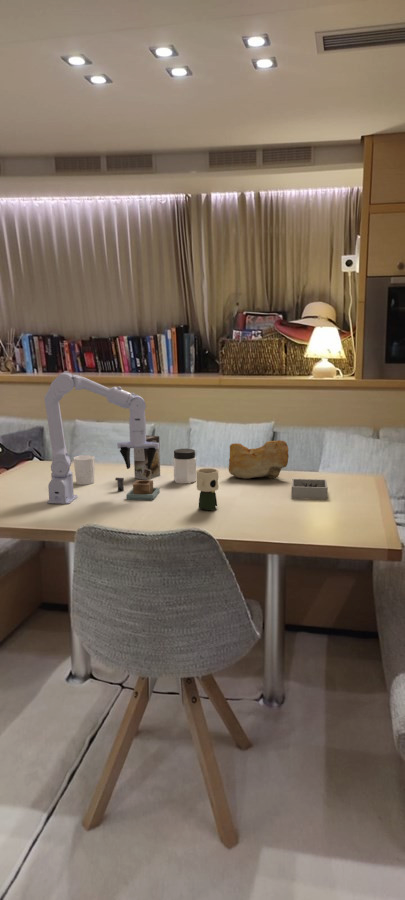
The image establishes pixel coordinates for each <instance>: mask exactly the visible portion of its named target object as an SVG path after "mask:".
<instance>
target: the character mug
mask: <svg viewBox="0 0 405 900" xmlns="http://www.w3.org/2000/svg"><path fill="white" fill-rule="evenodd" d="M196 490H198V491H199V497H198V509H201V510H204V511H213V510H216V509H217V507H218V500H217V495H216V494H217V493H216V491H218V490H219V469H217V468H213V467H211V468H210V467H205V468H198V469H196Z"/></svg>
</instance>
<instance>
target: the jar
mask: <svg viewBox="0 0 405 900" xmlns="http://www.w3.org/2000/svg"><path fill="white" fill-rule="evenodd" d="M196 459H197V457H196V450H195V449H192V448H178V449H175V450H174V451H173V480H174V482H175V483H176V484H183V483H189V484H192V483H196V482H197V473H196V472H197V460H196ZM195 481H196V482H195ZM191 482H192V483H191Z"/></svg>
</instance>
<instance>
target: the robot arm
mask: <svg viewBox="0 0 405 900" xmlns="http://www.w3.org/2000/svg"><path fill="white" fill-rule="evenodd" d="M73 389H74V391H81V390H86V391H89V392H92V393H94V394H97V395H99V396H102V397H105V398H106V399H107V402H108V403H109V404H112V405H115V406H117V407H119V408H122V409H125V410H126V409H129V418H128V422H129V423H128V424H129V441H118V442H117V449H120V450H119V453H120V455H121V456H122V458H123V460H124V462H125V466H126V469H127V470H128V469H131V449H134V448H145V449H148V450H147V457H148V469H151V466H152V461H153V457H154V455H155V452H156V450H157V449H159V448H160V442H159V443H154V442H146V435H147V423H146V422H147V421H146V420H147V419H146V411H145V410H146V408H147V404H146V402H145V399H144V398H143V397H142V396H140V395H139V394H136V393H135V392H129V391H127V390H124V389H123V388H122V387H121V386H119V385H118V386H112V387H107V386H105V385H103V384H101V383H98V382H96V381H94V380H91V379H89V378H87V377H84V376H82V375H78V374H73V373H71V372H68V371H64V372H62V373H60V374H58V375H57V377H55V379H54V380H52V381H51V384H50V385H49V387H48V390H47V391H46V394H45V396H44V400H43V401H44V405H45V411H46V412H45V413H46V419H47V425H48V431H49V432H48V433H49V438H50V446H51V458H52V462H51V464H50V471H51V475H50V479H51V480H50V481H49V483H48V487H47V488H48V489H47V490H48V498H49V499H48V500H47V501H46V504H63V505H64V504H65V505H67V504H70V503H72V502H73V501H74V500H75V499H76V498H78V496H79V495H78V494H74V480H73V479H74V478H73V476H74V475H73V472H72V470H71V466H72V459H71V457H70V456H69V453H68V450H67V446H66V440H65V434H64V433H65V432H64V427H63V426H64V425H63V420H62V414H61V413H62V411H61V406H60V401H61V400H62V399H63V397H64V396H65V395H66V394H68V393H70V392H72V391H73Z"/></svg>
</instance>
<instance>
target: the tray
mask: <svg viewBox="0 0 405 900" xmlns="http://www.w3.org/2000/svg"><path fill="white" fill-rule="evenodd" d="M160 493H161V491H160V487H153V493H152V494H133V487H132V488H131V489H130V490H129V491H128V492H127V493H126V500H133V501H136V500H137V501H139V500H140V501H154V500H155V499H156V498H157V497H158V496H159V494H160Z"/></svg>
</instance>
